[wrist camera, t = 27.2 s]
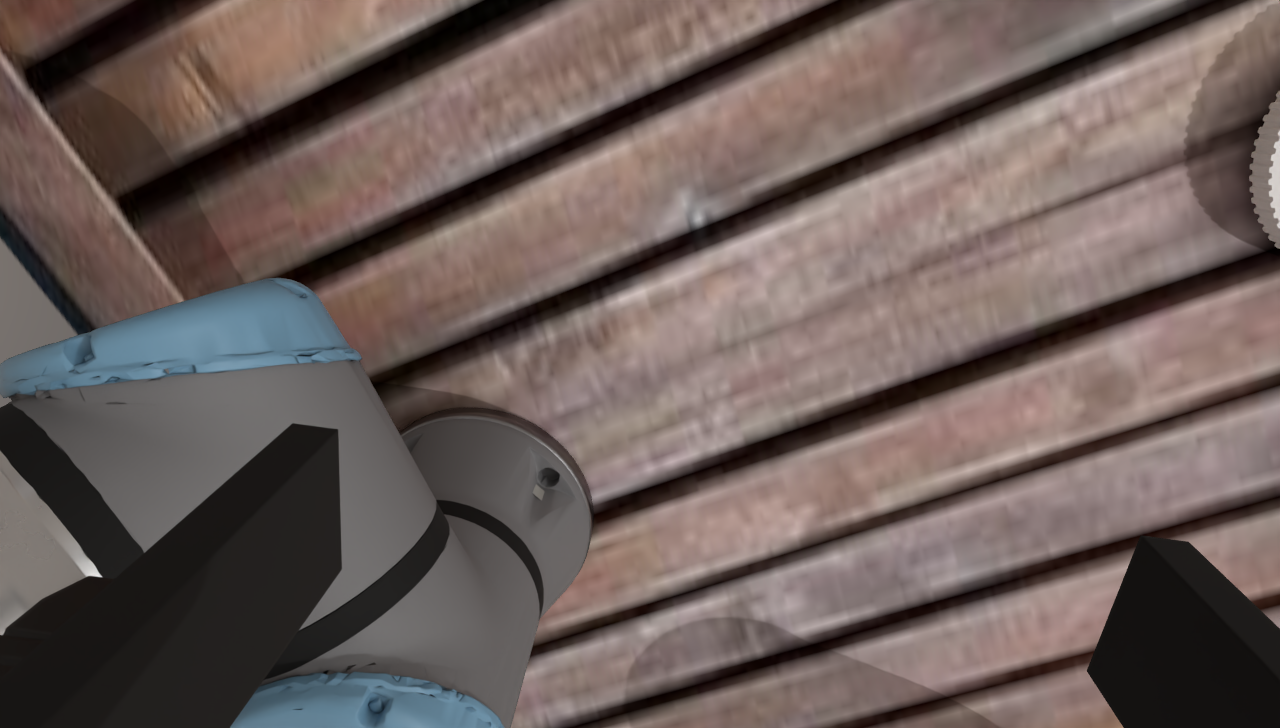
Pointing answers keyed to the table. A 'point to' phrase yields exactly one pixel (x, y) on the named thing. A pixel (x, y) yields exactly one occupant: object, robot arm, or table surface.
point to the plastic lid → (1268, 173)
